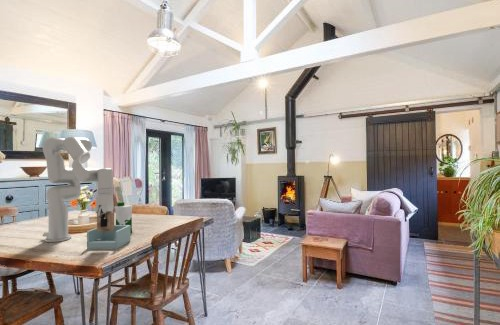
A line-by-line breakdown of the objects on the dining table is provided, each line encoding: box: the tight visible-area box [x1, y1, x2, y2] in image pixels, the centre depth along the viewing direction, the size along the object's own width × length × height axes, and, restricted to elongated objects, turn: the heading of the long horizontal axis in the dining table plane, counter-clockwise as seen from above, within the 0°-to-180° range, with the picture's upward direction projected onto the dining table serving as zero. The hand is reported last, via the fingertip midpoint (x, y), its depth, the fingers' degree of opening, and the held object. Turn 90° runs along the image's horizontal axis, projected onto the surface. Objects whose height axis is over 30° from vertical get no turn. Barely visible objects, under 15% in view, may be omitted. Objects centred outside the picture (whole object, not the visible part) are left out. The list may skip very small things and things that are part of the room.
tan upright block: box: [96, 211, 115, 231], centre depth 143 cm, size 8×3×10 cm, turn 89°
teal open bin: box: [86, 224, 132, 250], centre depth 148 cm, size 16×15×9 cm
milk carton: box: [114, 201, 134, 234], centre depth 170 cm, size 9×9×20 cm
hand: (105, 225), depth 143 cm, fingers closed on tan upright block, 2 cm apart
